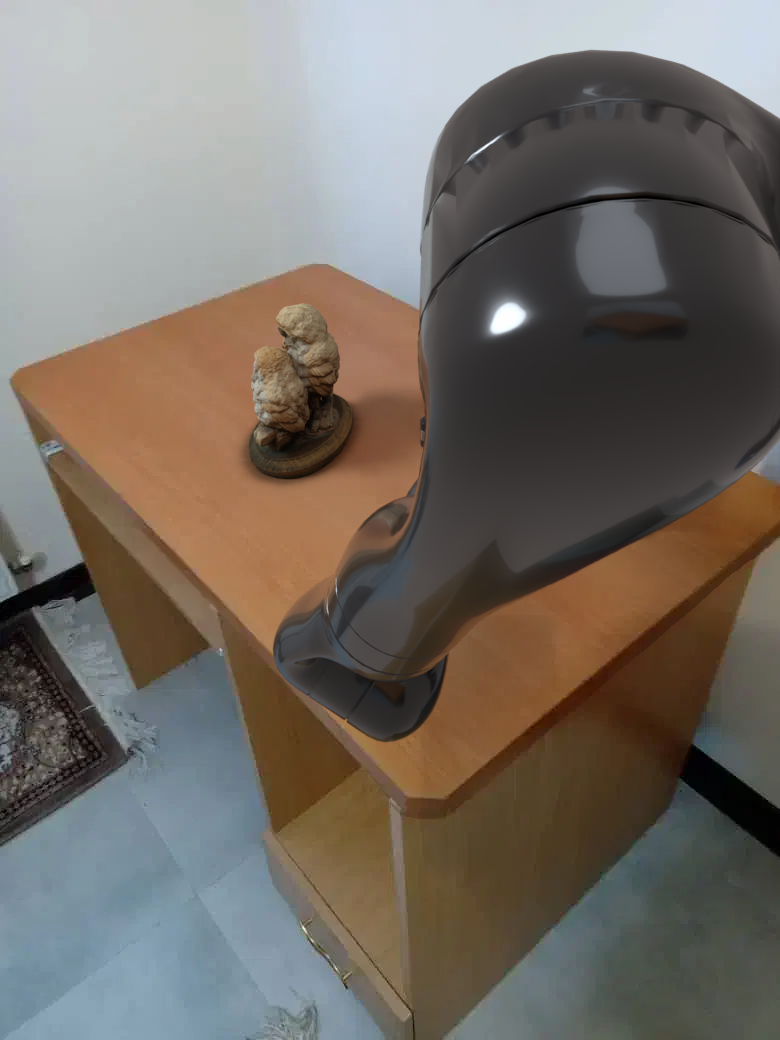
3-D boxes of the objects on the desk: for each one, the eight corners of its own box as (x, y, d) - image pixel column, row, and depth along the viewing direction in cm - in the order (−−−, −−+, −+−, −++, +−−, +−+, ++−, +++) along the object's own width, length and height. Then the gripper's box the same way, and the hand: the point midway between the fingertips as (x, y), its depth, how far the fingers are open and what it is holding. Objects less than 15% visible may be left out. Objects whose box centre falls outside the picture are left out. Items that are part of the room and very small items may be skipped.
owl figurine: (284, 391, 105) (265, 268, 94) (369, 400, 103) (360, 275, 91) (230, 473, 92) (201, 341, 81) (326, 485, 90) (309, 351, 78)
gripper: (561, 485, 54) (622, 368, 65) (374, 438, 59) (461, 337, 70) (551, 564, 59) (610, 443, 70) (379, 515, 64) (460, 409, 75)
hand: (535, 390), depth 70 cm, fingers closed on energy drink, 5 cm apart
